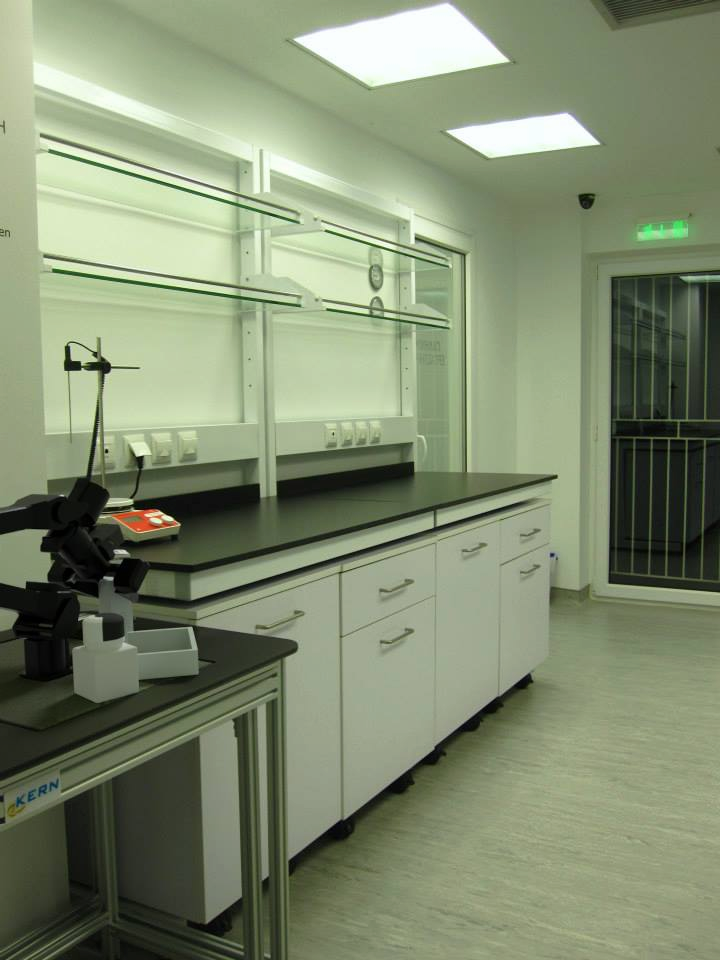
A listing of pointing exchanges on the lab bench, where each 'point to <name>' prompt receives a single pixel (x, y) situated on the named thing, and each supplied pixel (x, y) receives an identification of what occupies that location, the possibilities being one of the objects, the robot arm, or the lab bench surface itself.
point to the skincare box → (115, 604)
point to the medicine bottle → (105, 660)
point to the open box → (165, 652)
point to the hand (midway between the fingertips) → (120, 598)
